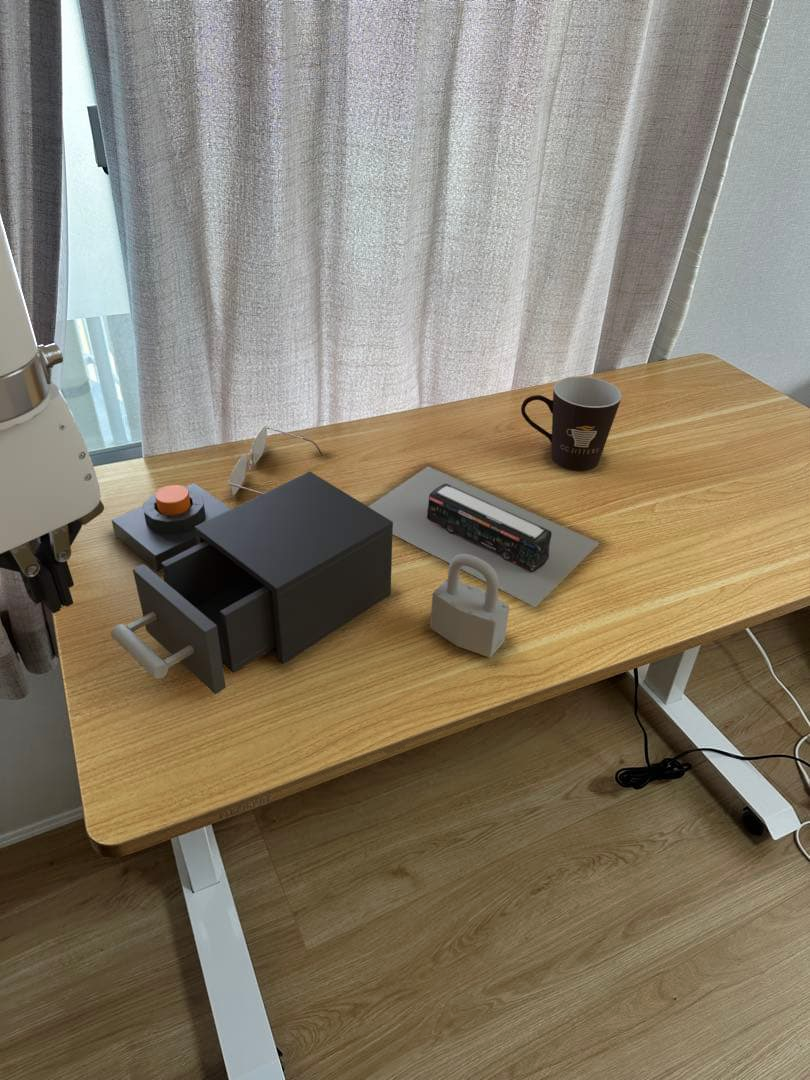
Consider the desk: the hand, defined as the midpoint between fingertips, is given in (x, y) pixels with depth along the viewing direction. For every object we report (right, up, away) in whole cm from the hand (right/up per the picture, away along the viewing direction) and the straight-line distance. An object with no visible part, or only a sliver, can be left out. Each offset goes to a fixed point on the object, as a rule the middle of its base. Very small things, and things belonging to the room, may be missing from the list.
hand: (54, 599), depth 62 cm
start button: (+1, +8, +28) cm, 30 cm away
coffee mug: (+49, +16, +47) cm, 70 cm away
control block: (+1, +5, +31) cm, 31 cm away
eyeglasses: (+11, +12, +41) cm, 44 cm away
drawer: (+9, -5, +16) cm, 19 cm away
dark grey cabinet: (+16, -1, +22) cm, 28 cm away
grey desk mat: (+35, +6, +33) cm, 49 cm away
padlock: (+33, -5, +19) cm, 39 cm away
